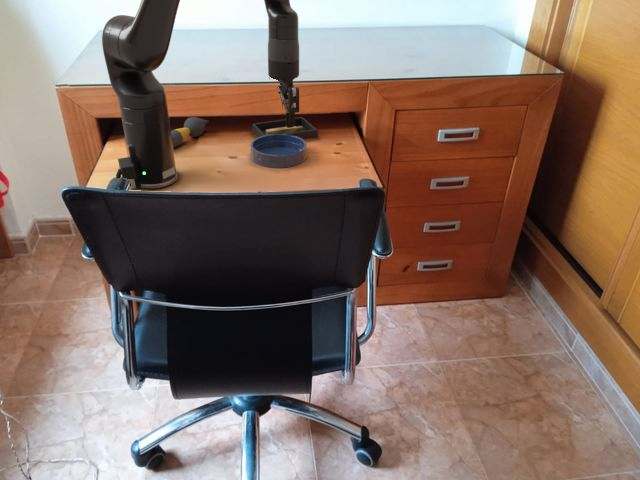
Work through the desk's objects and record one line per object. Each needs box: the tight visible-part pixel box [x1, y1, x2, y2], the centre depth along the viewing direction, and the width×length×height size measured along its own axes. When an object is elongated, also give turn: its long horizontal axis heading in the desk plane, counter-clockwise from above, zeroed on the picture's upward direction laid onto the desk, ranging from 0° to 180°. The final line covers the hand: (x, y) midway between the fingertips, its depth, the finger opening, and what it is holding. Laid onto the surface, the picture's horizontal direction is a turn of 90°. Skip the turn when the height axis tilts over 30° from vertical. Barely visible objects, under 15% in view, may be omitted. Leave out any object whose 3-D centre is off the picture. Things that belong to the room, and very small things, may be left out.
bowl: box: [249, 134, 308, 169], centre depth 127 cm, size 13×13×4 cm
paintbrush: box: [171, 116, 210, 149], centre depth 133 cm, size 20×5×5 cm, turn 155°
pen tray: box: [251, 116, 319, 141], centre depth 139 cm, size 14×10×2 cm
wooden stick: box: [266, 126, 303, 135], centre depth 139 cm, size 10×2×2 cm, turn 115°
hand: (284, 121), depth 138 cm, fingers open, 8 cm apart
